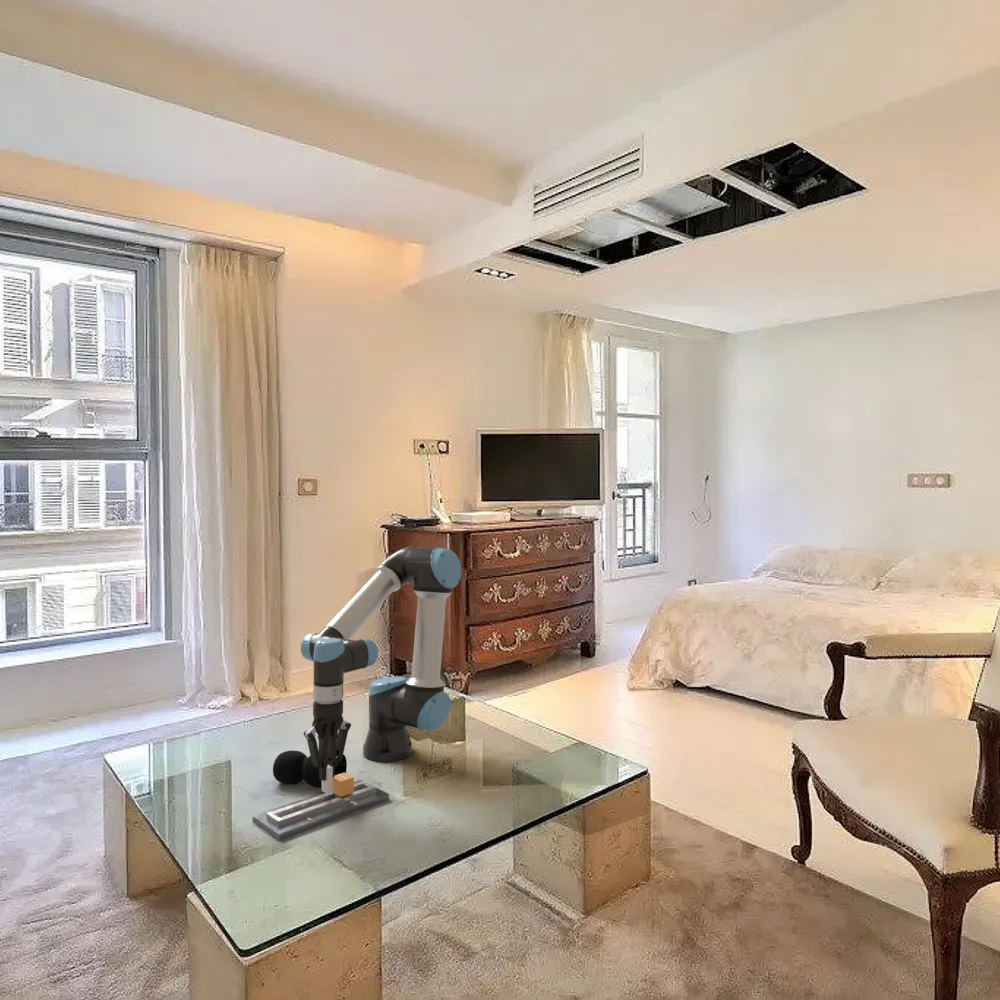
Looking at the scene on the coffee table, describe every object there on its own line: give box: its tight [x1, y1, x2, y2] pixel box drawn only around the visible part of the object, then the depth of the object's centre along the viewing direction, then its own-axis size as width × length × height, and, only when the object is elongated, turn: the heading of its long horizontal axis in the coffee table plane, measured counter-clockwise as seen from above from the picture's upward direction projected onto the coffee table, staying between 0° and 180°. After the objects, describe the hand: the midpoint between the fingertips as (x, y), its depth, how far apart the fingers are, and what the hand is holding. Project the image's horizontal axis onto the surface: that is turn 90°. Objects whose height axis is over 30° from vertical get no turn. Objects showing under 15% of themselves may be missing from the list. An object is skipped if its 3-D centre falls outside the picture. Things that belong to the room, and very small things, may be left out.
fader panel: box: [252, 779, 390, 841], centre depth 189 cm, size 32×13×3 cm, turn 135°
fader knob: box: [332, 772, 355, 798], centre depth 192 cm, size 4×4×5 cm
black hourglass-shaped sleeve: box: [272, 750, 348, 790], centre depth 204 cm, size 9×9×20 cm
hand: (326, 791), depth 189 cm, fingers closed
